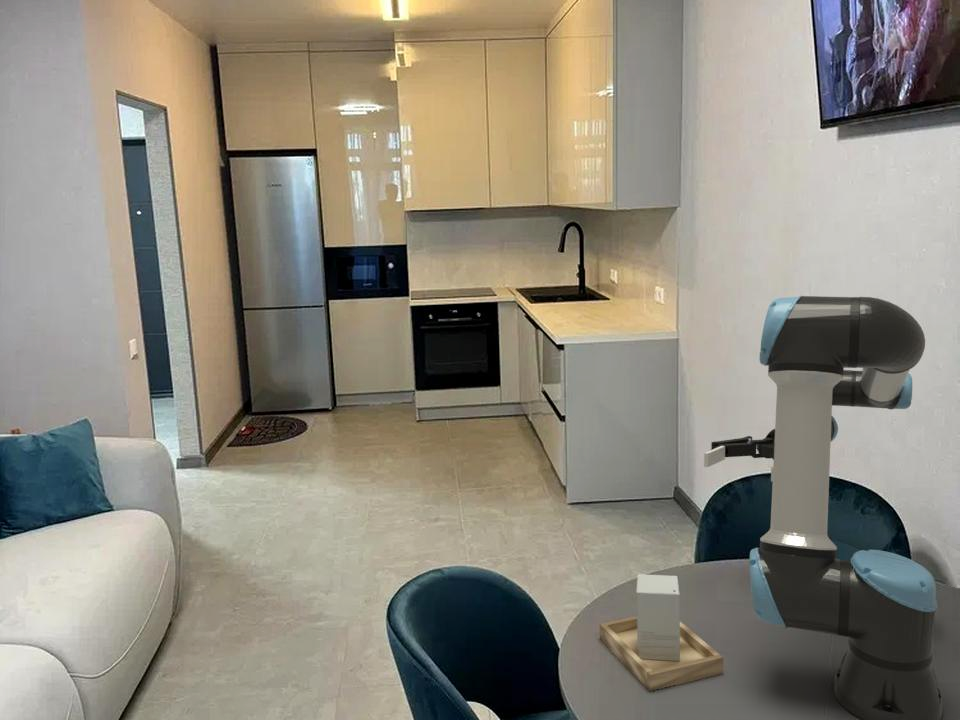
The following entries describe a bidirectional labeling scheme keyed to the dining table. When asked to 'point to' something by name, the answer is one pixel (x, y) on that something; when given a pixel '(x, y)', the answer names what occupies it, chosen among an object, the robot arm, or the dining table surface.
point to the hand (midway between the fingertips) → (738, 467)
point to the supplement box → (658, 617)
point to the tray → (661, 673)
